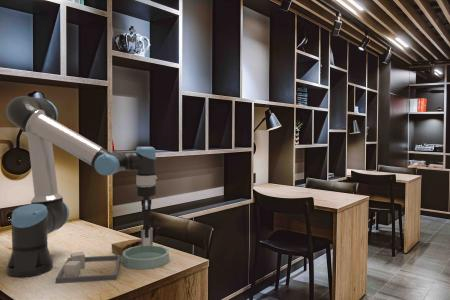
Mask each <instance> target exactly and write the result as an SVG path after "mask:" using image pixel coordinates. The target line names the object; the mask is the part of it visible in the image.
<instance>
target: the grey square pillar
mask: <svg viewBox="0 0 450 300" xmlns="http://www.w3.org/2000/svg"><path fill="white" fill-rule="evenodd" d="M153 233H154V231H153V227H150V245H154V243H153V241H154V239H153V237H154V236H153ZM140 236H141V237H140V239H141V246H143V230H140ZM150 245H148V246H150Z"/></svg>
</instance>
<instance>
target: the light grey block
mask: <svg viewBox="0 0 450 300" xmlns="http://www.w3.org/2000/svg"><path fill="white" fill-rule="evenodd" d="M64 264H65V263H64ZM64 264H63V266H64V275H63V277H72V276H82V274H81V268H80V261H69V262H68V263H66V264H65V265H64Z"/></svg>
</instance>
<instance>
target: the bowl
mask: <svg viewBox="0 0 450 300" xmlns="http://www.w3.org/2000/svg"><path fill="white" fill-rule="evenodd" d="M169 251H170V250H169V249H168V248H166V247H165V246H162V245H156V244H153V245H150V246H141V245H140V246H136V247H131V248H128V249H126V250H125V251H123V255H122V257H121V261H122V262H121V263H122V265H123V266H125V267H126V268H130V269H135V270H148V269H150V270H151V269H155V268H159V267H162V266H163V267H164V265H166V264H168V263H169V262H170V252H169Z"/></svg>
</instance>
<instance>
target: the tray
mask: <svg viewBox="0 0 450 300" xmlns="http://www.w3.org/2000/svg"><path fill="white" fill-rule="evenodd" d="M69 261H71V258H70V257H68V258H67V259H66V261H65V262H64V264H63V266H62V268H61V269H60V271H59V272H58V274H57V276H56V277H55V283H56V284H62V283H63V284H64V283H80V282H81V283H82V282H94V281H95V282H96V281H97V282H99V281H112V280H114V281H115V280H117V279H118V274H119V269H120V265H121V261H122V257H121V255H115V254H112V255H99V256H98V255H95V256H85V263H86V262H88V263H89V262H105V261H116V263H115V268H114V272H113V273H107V274H92V275H91V274H90V275H80V276H72V277H64V265H65V264H66V263H68V262H69Z"/></svg>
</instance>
